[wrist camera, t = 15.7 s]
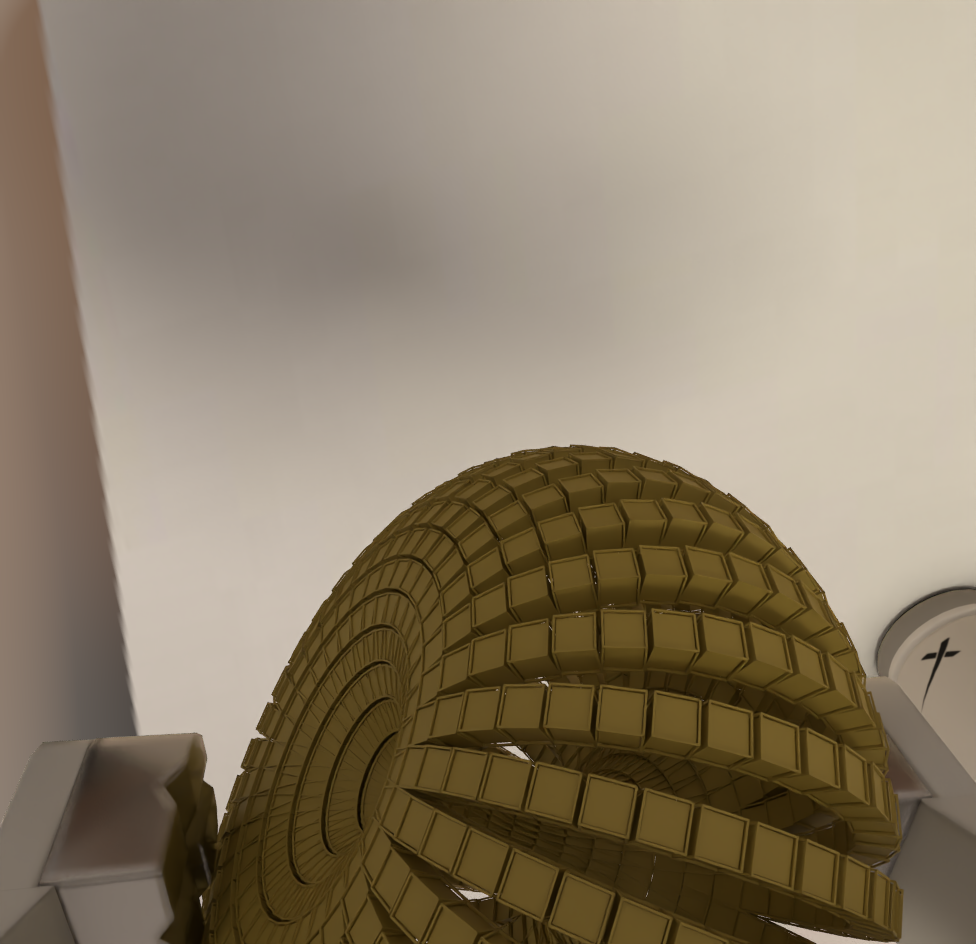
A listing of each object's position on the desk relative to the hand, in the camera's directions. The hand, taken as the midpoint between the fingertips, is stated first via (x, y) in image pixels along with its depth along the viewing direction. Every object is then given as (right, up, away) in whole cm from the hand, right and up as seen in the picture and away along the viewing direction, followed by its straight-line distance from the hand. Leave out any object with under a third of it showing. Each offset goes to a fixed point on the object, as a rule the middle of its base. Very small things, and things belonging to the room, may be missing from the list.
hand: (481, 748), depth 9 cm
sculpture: (0, +2, +3) cm, 3 cm away
